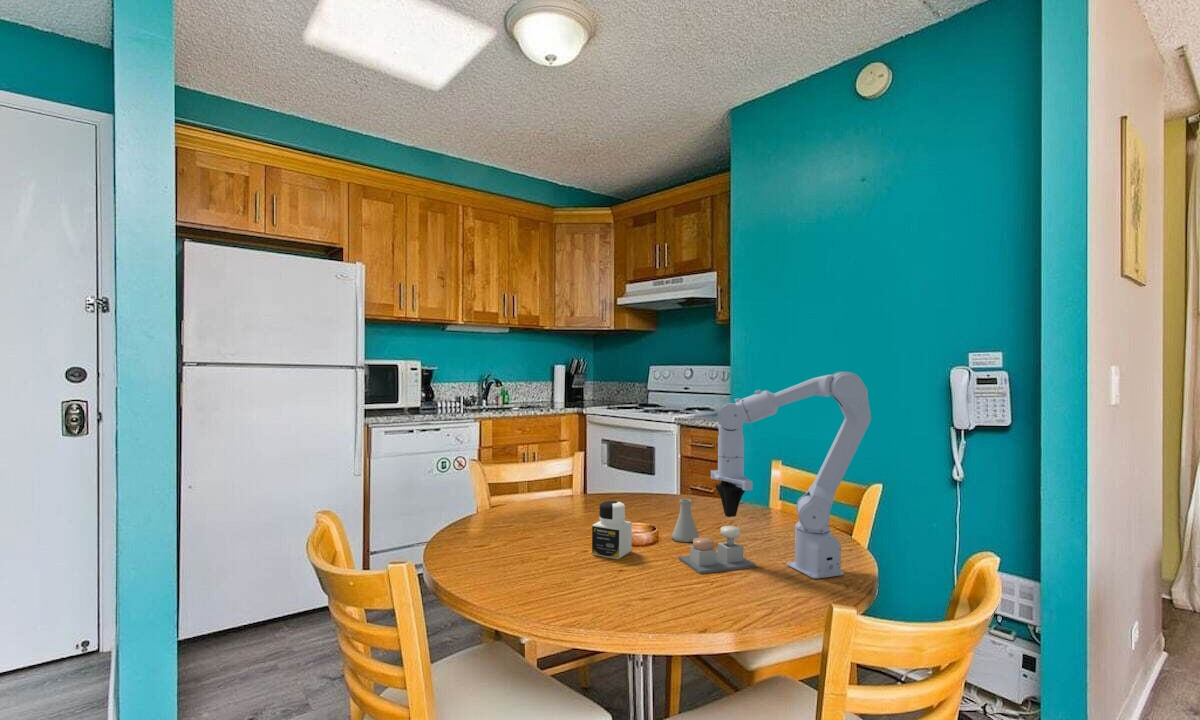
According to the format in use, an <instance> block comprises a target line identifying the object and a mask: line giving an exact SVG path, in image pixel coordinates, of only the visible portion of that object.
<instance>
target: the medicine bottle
mask: <svg viewBox="0 0 1200 720" xmlns="http://www.w3.org/2000/svg"><path fill="white" fill-rule="evenodd" d="M598 516H599V521H597V522H594V523H593V524H592V526H591V529H592V530H591V531H592V533H591V534H592V535H591V554H592V555H593V556H597V557H598V556H599V557H604V558H607V559H608V558H609V559H613V560H615V559H616V560H619V559H621V558H623V557H624V556H626V555H627V554H629V553H630V552H632V539H633V538H632V531H633V530H632V529H633V528H632V527H633V526H632V521H629V520H628V521H627V520H626V505H625V504H624V502H623V503H622V501H619V500H606V501H603V502H601V503H600V504H599V515H598Z"/></svg>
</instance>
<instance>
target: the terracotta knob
mask: <svg viewBox="0 0 1200 720" xmlns="http://www.w3.org/2000/svg"><path fill="white" fill-rule="evenodd" d="M692 546H693V547H694V548H695V549H698V550H711V549H713V548H714V540H713V539H711V538H708V537H699V538H695V539H693V542H692Z"/></svg>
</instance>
